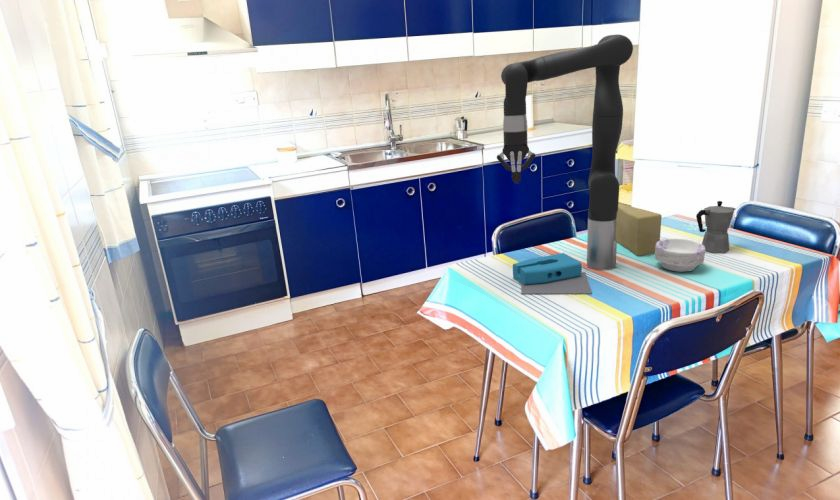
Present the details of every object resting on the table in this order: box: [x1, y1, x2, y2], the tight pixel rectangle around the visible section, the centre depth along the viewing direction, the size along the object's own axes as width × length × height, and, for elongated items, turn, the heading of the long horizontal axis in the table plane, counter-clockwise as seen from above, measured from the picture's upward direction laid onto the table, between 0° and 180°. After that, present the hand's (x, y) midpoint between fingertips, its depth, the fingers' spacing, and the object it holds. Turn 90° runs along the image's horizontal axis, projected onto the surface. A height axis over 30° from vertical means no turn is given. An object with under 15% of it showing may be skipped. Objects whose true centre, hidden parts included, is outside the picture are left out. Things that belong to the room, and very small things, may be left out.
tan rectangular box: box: [616, 202, 663, 257], centre depth 210 cm, size 22×10×15 cm, turn 16°
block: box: [512, 252, 583, 285], centre depth 188 cm, size 12×5×20 cm
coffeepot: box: [695, 200, 736, 254], centre depth 199 cm, size 15×9×18 cm, turn 103°
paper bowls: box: [654, 238, 706, 273], centre depth 188 cm, size 15×15×8 cm
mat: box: [520, 271, 593, 295], centre depth 183 cm, size 22×18×1 cm
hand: (516, 182), depth 184 cm, fingers closed
